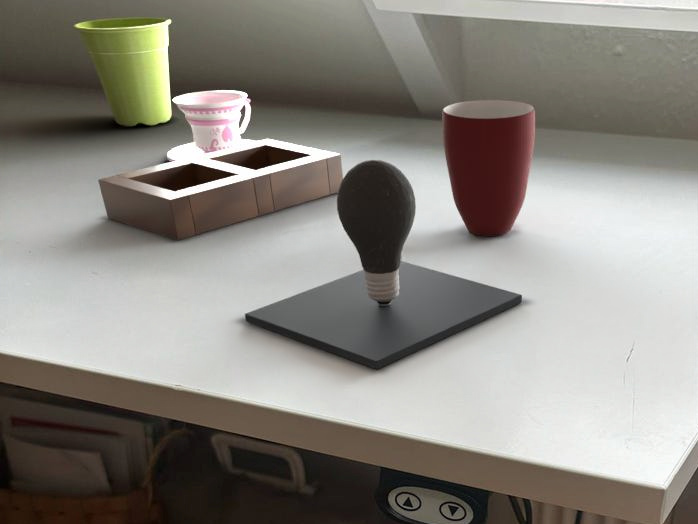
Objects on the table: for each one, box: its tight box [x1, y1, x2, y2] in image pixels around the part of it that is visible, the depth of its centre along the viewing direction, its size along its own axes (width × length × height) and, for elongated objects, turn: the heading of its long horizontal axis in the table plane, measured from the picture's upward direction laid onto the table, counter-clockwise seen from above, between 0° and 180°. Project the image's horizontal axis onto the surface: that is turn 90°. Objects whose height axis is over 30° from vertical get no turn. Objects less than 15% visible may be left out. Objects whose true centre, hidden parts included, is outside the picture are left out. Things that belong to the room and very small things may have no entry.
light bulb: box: [336, 159, 417, 306], centre depth 68 cm, size 6×6×10 cm
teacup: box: [166, 89, 257, 162], centre depth 108 cm, size 12×12×6 cm
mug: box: [441, 99, 536, 237], centre depth 85 cm, size 10×8×10 cm
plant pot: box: [73, 16, 172, 127], centre depth 122 cm, size 12×12×11 cm
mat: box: [244, 260, 523, 370], centre depth 72 cm, size 16×14×1 cm
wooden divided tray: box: [98, 138, 344, 241], centre depth 94 cm, size 21×12×4 cm, turn 140°
